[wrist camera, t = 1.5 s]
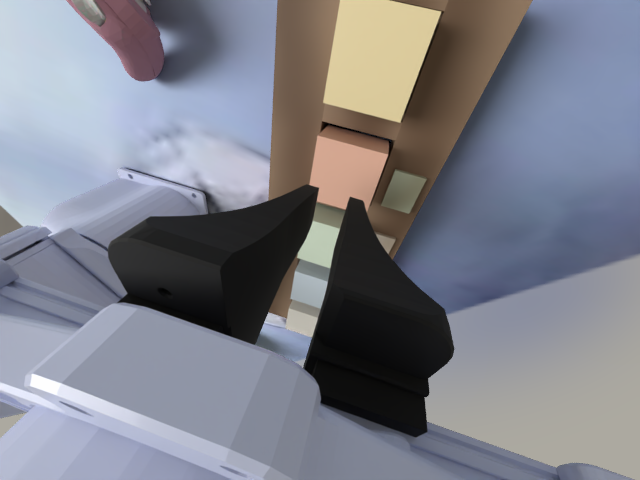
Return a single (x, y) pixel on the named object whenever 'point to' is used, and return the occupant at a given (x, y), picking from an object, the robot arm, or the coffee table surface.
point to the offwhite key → (302, 318)
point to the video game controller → (126, 33)
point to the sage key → (322, 235)
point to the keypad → (407, 136)
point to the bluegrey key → (310, 283)
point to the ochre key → (377, 55)
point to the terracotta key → (347, 166)
